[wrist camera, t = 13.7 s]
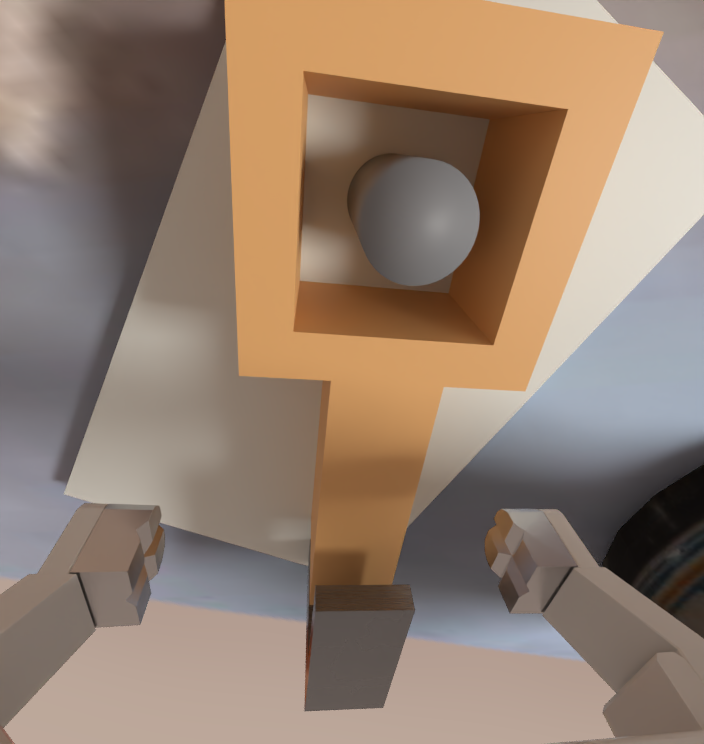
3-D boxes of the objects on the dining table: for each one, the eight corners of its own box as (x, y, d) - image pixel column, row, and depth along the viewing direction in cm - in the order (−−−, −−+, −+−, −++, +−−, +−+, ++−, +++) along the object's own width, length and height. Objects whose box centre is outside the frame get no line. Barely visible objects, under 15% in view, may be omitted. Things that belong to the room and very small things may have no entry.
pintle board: (73, 480, 17) (-8, 592, 13) (337, -243, 8) (359, -665, 4) (355, 566, 22) (364, 671, 18) (726, 163, 13) (934, 175, 8)
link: (256, 22, 10) (222, -46, 6) (550, 68, 10) (663, 31, 7) (261, 518, 18) (247, 605, 15) (421, 520, 19) (443, 603, 16)
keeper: (316, 452, 18) (315, 611, 12) (382, 454, 18) (414, 609, 12) (308, 548, 21) (304, 711, 15) (364, 548, 21) (382, 707, 15)
